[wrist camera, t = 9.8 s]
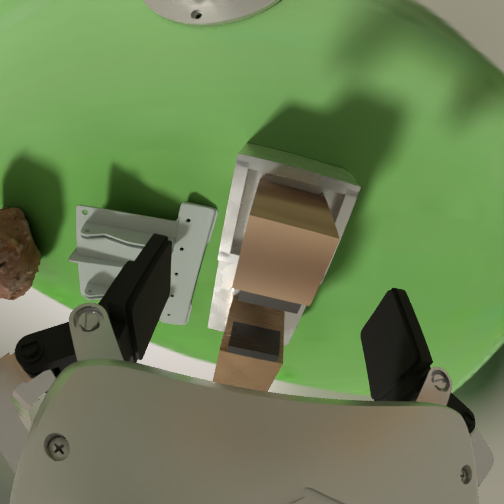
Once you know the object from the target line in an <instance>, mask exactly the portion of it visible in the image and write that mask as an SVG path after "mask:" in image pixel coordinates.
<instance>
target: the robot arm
mask: <svg viewBox="0 0 504 504" xmlns="http://www.w3.org/2000/svg"><path fill="white" fill-rule="evenodd" d="M143 1H144V3H145V4H146V5H147V6H148V7H149V8H150V9H151V10H152V11H154V12H155V13H157V14H159V15H160V16H162V17H164V18H167V19H169V20H171V21H173V22H177V23H181V24H185V25H194V26H218V25H223V24H229V23H234V22H237V21H241V20H244V19H247V18H250V17H253V16H255V15H257V14H259V13H261V12H264V11H266V10H267V9H269V8H270V7H272V6H273V5H275V4H277V3H278V2H279V1H280V0H143ZM199 15H202V16H201V18H199V19H197V17H198V16H199ZM171 257H172V241H170V240H168V236H165V235H160V234H156V233H154V234H153V235H152V237H151V238H150V239H149V241H148V242H147V243H146V245H145V246H144V248H143V249H142V251H141V252H140V253H139V255H138V256H137V258H136V259H135V261H131V260H129V261H127V262H126V264H125V265H124V266H123V268H122V269H121V271H120V272H119V274H118V275H117V277H116V278H115V279H114V281H113V282H112V284H111V285H110V287H109V288H108V290H107V291H106V293H105V294H104V296H103V298H102V299H101V301H100V302H99V304H96V303H84V304H82V305H79V306H78V307H76V308H75V309H74V310H73V311H72V312H71V314H70V317H69V322H67V323H64V324H60V325H58V326H54V327H51V328H48V329H45V330H42V331H38V332H35V333H32V334H29V335H27V336H24V337H23V338H22V339H21V340H20V341H19V342H18V344H17V345H16V349H15V353H13V354H12V355H10V353H7V354H6V355H5V356H3V357H2V358H0V450H1V452H2V454H3V455H4V457H5V459H6V461H7V462H8V464H9V465H10V467H11V469H12V470H13V472H14V473H15V480H14V484H13V488H12V493H11V499H10V504H479V498H478V497H479V496H478V487H479V485H480V484H481V483H482V481H483V480H484V478H485V477H486V475H487V474H488V472H489V471H490V469H491V468H492V465H493V461H494V459H493V454H492V452H491V450H490V449H489V447H488V445H487V444H486V442H485V440H484V439H483V437H482V435H481V434H480V432H479V431H478V429H477V428H476V429H475V430H474V428H475V418H474V415H473V413H472V412H471V411H470V409H469V408H467V407H466V406H465V405H464V404H463V403H462V402H461V401H460V400H459V399H458V398H456V397H455V396H454V395H453V394H452V393H451V390H452V381H451V378H450V376H449V375H448V373H447V372H446V371H445V370H444V369H442V368H440V367H433V368H430V365H431V364H432V363H433V361H432V358H431V355H430V352H429V349H428V346H427V343H426V341H425V338H424V335H423V333H422V330H421V327H420V325H419V322H418V320H417V317H416V315H415V312H414V310H413V307H412V305H411V303H410V300H409V298H408V296H407V293H406V291H405V290H402V289H397V288H392V289H391V290H389V291H387V293H386V294H385V296H384V297H383V299H382V301H381V302H380V304H379V305H378V307H377V308H376V310H375V311H374V313H373V314H372V316H371V317H370V319H369V320H368V322H367V323H366V324H365V326H364V327H363V329H362V331H361V341H362V346H363V351H364V357H365V362H366V368H367V373H368V379H369V385H370V391H371V397H372V399H374V401H356V400H337V399H325V398H312V397H303V396H294V395H287V394H279V393H272V392H266V391H259V390H253V389H247V388H242V387H236V386H231V385H226V384H221V383H216V382H212V381H207V380H203V379H198V378H194V377H190V376H186V375H181V374H177V373H174V372H170V371H166V370H162V369H159V368H155V367H150V366H146V365H142V364H139V363H136V362H137V360H138V359H139V360H141V359H142V358H143V356H144V354H145V351H146V349H147V346H148V344H149V342H150V339H151V337H152V335H153V332H154V330H155V327H156V325H157V323H158V321H159V318H160V316H161V314H162V311H163V309H164V307H165V305H166V302H167V300H168V298H169V295H170V287H171ZM43 393H46V395H45V397H44V399H43V401H42V403H41V405H40V407H39V410H38V411H37V414H36V416H35V418H34V421H33V423H31V421H30V418H29V411H30V408H31V406H32V405H33V404H34V403H35V402H37V401H38V400H39V398H38V397H39V396H41V395H42V394H43ZM66 439H67V440H66Z"/></svg>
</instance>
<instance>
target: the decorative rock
mask: <svg viewBox="0 0 504 504" xmlns="http://www.w3.org/2000/svg"><path fill="white" fill-rule="evenodd" d="M40 260H41V253H40V251H39V250H38V248H37V246H36V245H35V243H34V240H33V238H32V235H31V232H30V229H29V225H28V222H27V220H26V218H25V215H24V213H23V211H21V210H20V209H19V208H15V207H12V208H6V207H4V208H3V209H0V298H4V299H8V300H14V299H16V298H18V297H20V296H22V295H24V294H25V292H26V291H28V289H30V287H31V286H32V283H33V280H34V277H35V274H36V272H38V266H39V265H40Z"/></svg>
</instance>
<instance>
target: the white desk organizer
mask: <svg viewBox="0 0 504 504" xmlns="http://www.w3.org/2000/svg"><path fill="white" fill-rule="evenodd" d="M260 179H262V180H266V181H270V182H274V183H278V184H281V185H285V186H289V187H293V188H296V189H300V190H304V191H307V192H311V193H314V194H318V195H321V196H324V197H325V198H326V200H327V203H328V206H329V209H330V211H331V214H332V217H333V220H334V223H335V226H336V229H337V232H338V235H339V238H340V240H341V237H342V235H343V232H344V230H345V227H346V225H347V222H348V220H349V217H350V215H351V212H352V210H353V207H354V204H355V202H356V199H357V196H358V194H359V191H360V188H361V187H360V185H359V184H358V183H357V181H356V180H355V179H354V178H353V176H352V175H351V174H350V172H349V171H348V170H346V169H343V168H339V167H336V166H333V165H330V164H326V163H323V162H320V161H316V160H313V159H309V158H306V157H302V156H299V155H295V154H291V153H287V152H284V151H280V150H276V149H272V148H267V147H263V146H259V145H255V144H250V143H246V144H245V145H244V147H243V148H242V149H241V150H240V152H239V153H238V156H237V161H236V166H235V171H234V175H233V180H232V185H231V190H230V196H229V201H228V206H227V211H226V216H225V222H224V227H223V232H222V238H221V243H220V249H219V255H218V260H219V264H218V270H217V276H216V281H215V287H214V293H213V299H212V305H211V311H210V317H209V323H208V328H211V329H215V330H219V331H223V332H224V335H223V339H222V343H221V347H220V351H219V356H218V360H217V365H216V369H215V374H214V378H213V382H217V383H221V384H226V385H231V386H236V387H242V388H247V389H253V390H259V391H266V392H267V391H268V390H269V388H270V386H271V384H272V382H273V381H274V379H275V377H276V375H277V373H278V371H279V370H280V368H281V366H282V364H283V345H288V343H289V341H290V339H291V337H292V335H293V333H294V331H295V329H296V327H297V324H298V322H299V320H300V318H301V316H302V314H303V312H304V309H305V307H306V305H301V307H300V309H299V311H298V313H297V314H295V313H291V312H286V311H281V310H277V309H273V308H268V307H264V306H260V305H255V304H251V303H247V302H243V301H239V300H238V298H239V293H240V290H238V289H234V288H232V285H233V281H234V277H235V273H236V268H237V264H238V260H239V256H240V251H241V247H242V243H243V239H244V235H245V231H246V226H247V222H248V218H249V214H250V211H251V207H252V204H253V200H254V197H255V193H256V190H257V187H258V183H259V180H260ZM340 240H339V242H340ZM339 242H338V245H339ZM338 245H337V247H338ZM337 247H336V249H337ZM336 249H335V252H336ZM335 252H334V254H335ZM334 254H333V256H334ZM333 256H332V259H333ZM332 259H331V261H332ZM331 261H330V263H331ZM330 263H329V266H330ZM329 266H328V268H329ZM328 268H327V270H328ZM327 270H326V272H325V275H326V273H327ZM325 275H324V277H325ZM324 277H323V279H324ZM323 279H322V281H321V283H320V284H322V282H323Z"/></svg>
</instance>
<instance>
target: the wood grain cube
mask: <svg viewBox="0 0 504 504" xmlns="http://www.w3.org/2000/svg"><path fill="white" fill-rule="evenodd" d="M339 240H340V238H339V235H338V232H337V229H336V226H335V223H334V220H333V217H332V214H331V211H330V209H329V206H328V203H327V200H326V198H325V197H324V196H321V195H318V194H314V193H311V192H307V191H304V190H300V189H296V188H293V187H289V186H285V185H281V184H278V183H274V182H270V181H266V180H262V179H260V180H259V183H258V187H257V190H256V193H255V197H254V200H253V204H252V207H251V211H250V214H249V218H248V222H247V226H246V231H245V235H244V239H243V243H242V247H241V251H240V256H239V260H238V264H237V268H236V273H235V277H234V281H233V285H232V288H234V289H238V290H240V293H239V298H238V300H239V301H243V302H247V303H251V304H255V305H260V306H264V307H268V308H273V309H277V310H281V311H286V312H291V313H295V314H297V313H298V311H299V309H300V307H301V305H307V306H310V305H311V303H312V300H313V298H314V296H315V294H316V292H317V290H318V288H319V285H320V283H321V281H322V279H323V277H324V275H325V272H326V270H327V268H328V266H329V263H330V261H331V259H332V256H333V254H334V252H335V249H336V247H337V245H338V242H339Z"/></svg>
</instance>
